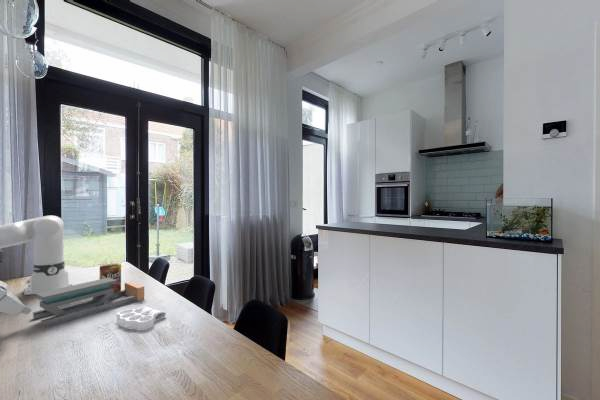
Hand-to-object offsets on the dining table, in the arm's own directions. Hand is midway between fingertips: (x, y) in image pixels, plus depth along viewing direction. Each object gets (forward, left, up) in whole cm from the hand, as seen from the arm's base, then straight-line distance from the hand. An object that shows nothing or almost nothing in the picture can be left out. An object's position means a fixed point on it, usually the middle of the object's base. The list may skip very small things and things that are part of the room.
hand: (29, 311), depth 101 cm
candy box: (-13, +31, -6) cm, 34 cm away
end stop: (0, +37, -5) cm, 37 cm away
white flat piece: (+30, +26, -6) cm, 40 cm away
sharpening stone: (0, +15, -6) cm, 16 cm away
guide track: (0, +19, -5) cm, 19 cm away
